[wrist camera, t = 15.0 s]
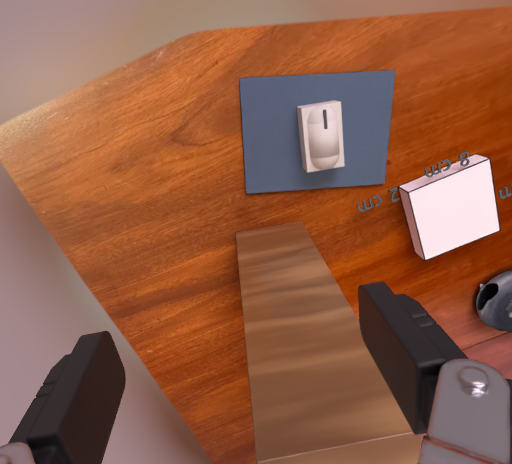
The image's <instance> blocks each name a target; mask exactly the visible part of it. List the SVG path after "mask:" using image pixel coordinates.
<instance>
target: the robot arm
mask: <svg viewBox="0 0 512 464" xmlns="http://www.w3.org/2000/svg"><path fill="white" fill-rule="evenodd" d="M358 299H359V321H360V330H361V334H362V338H363V340H364V343H365V345H366V347H367V349H368V350H369V352H370V354H371V356H372V358H373V360H374V361H375V363H376V365H377V367H378V369H379V371H380V372H381V374H382V376H383V378H384V380H385V382H386V383H387V385H388V387H389V389H390V391H391V393H392V394H393V396H394V398H395V400H396V402H397V404H398V405H399V407H400V409H401V411H402V413H403V415H404V416H405V418H406V420H407V422H408V424H409V425H410V427H411V429H412V431H413V433H414V435H418V434H423V433H427V435H426V436H424V437H423V440H422V444H421V449H420V453H419V458H418V463H417V464H512V380H511V379H506V378H504V376H503V375H502V374H501V373H500V372H498V371H497V370H496V369H494V368H493V367H491V366H489V365H487V364H485V363H483V362H480V361H476V360H472V359H469V358H468V357H467V356H466V355H465V354H464V353H463V352H462V351H461V349H460V348H459V347H458V346H457V345H456V344H455V343H454V342H453V340H452V339H451V338H450V337H449V336H448V335H447V334H446V333H445V331H444V330H443V329H442V328H441V327H440V326H439V325H437V324H436V321H435V320H434V319H433V318H432V317H431V316H430V315H428V312H427V311H426V310H425V309H424V308H423V307H422V306H421V304H420V303H419V302H417V301H416V300H414V299H412V298H410V297H408V296H407V295H405V294H399V295H394V293H393V292H392V291H391V290H390V288H389V287H388V286H387V285H386V283H385V282H383V281H381V282H376V283H370V284H365V285H360V286H359V288H358ZM125 380H126V379H125V371H124V367H123V364H122V361H121V359H120V356H119V354H118V351H117V349H116V346H115V344H114V341H113V339H112V336H111V334H110V333H109V332H108V331H103V332H98V333H92V334H87V335H83V336H81V337H80V338H79V340H78V342H77V344H76V345H75V347H74V349H73V351H72V353H71V354H69V355H65V356H64V357H63V358H62V359H61V360H60V361H59V362H58V363H57V364H56V365H55V366H54V367H53V368H52V369H51V370H50V372H49V374H48V376H47V377H46V379H45V381H44V383H43V386H41V388H40V390H39V391H38V393H37V395H36V398H35V399H34V400H33V401H32V403H31V405H30V407H29V408H28V410H27V412H26V413H25V415H24V417H23V419H22V420H21V422H20V424H19V426H18V427H17V429H16V431H15V432H14V434H13V436H12V438H11V439H10V441H9V443H8V444H6V445H3V446H1V447H0V464H101V463H102V460H103V457H104V453H105V450H106V447H107V444H108V440H109V437H110V434H111V430H112V427H113V424H114V421H115V418H116V414H117V411H118V408H119V405H120V401H121V398H122V395H123V391H124V388H125Z"/></svg>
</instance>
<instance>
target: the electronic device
mask: <svg viewBox="0 0 512 464" xmlns="http://www.w3.org/2000/svg"><path fill="white" fill-rule="evenodd" d="M480 287H481V289H480V291H479V293H478V297H477V302H476V307H477V312H478V315H479V317H480V319H481V321H482V322H483V323H484V324H485V325H487V326H489V327H492V328H495V329H497V330H499V331H507V332H512V270H509V271H506V272H503V273H501V274H498V275H497V276H495V277H494V278H492V279H491V280H490V281H489V282H488V283H487V284H486V285H483V284H480Z"/></svg>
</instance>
